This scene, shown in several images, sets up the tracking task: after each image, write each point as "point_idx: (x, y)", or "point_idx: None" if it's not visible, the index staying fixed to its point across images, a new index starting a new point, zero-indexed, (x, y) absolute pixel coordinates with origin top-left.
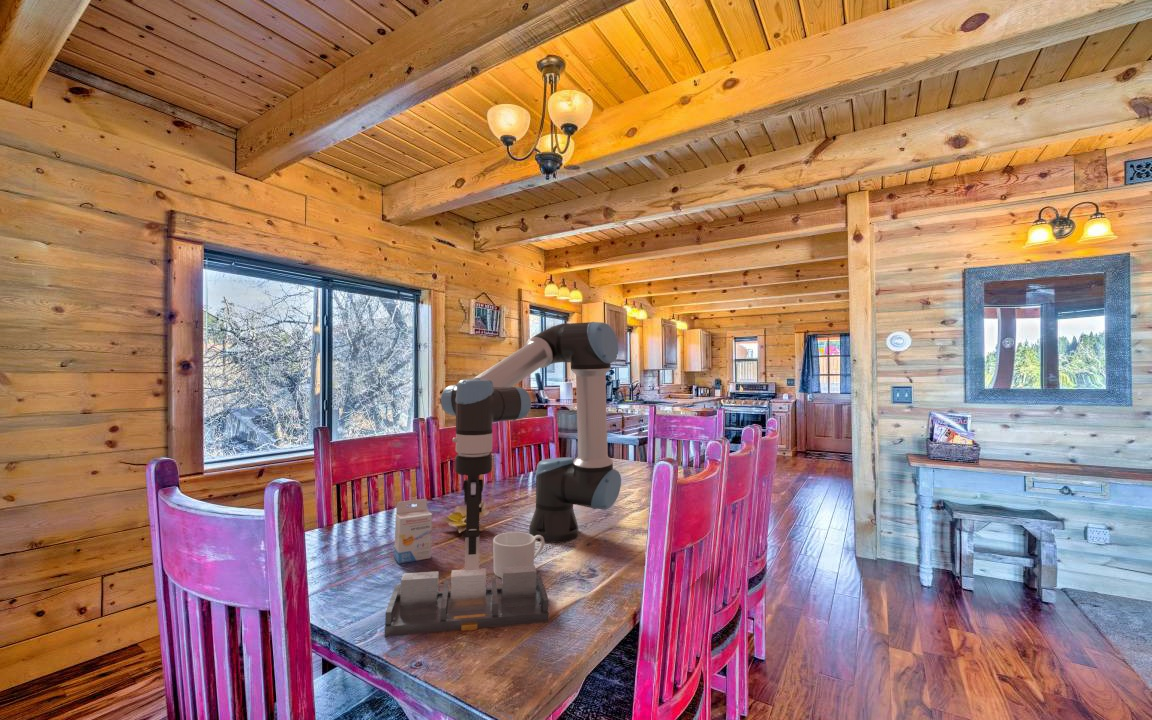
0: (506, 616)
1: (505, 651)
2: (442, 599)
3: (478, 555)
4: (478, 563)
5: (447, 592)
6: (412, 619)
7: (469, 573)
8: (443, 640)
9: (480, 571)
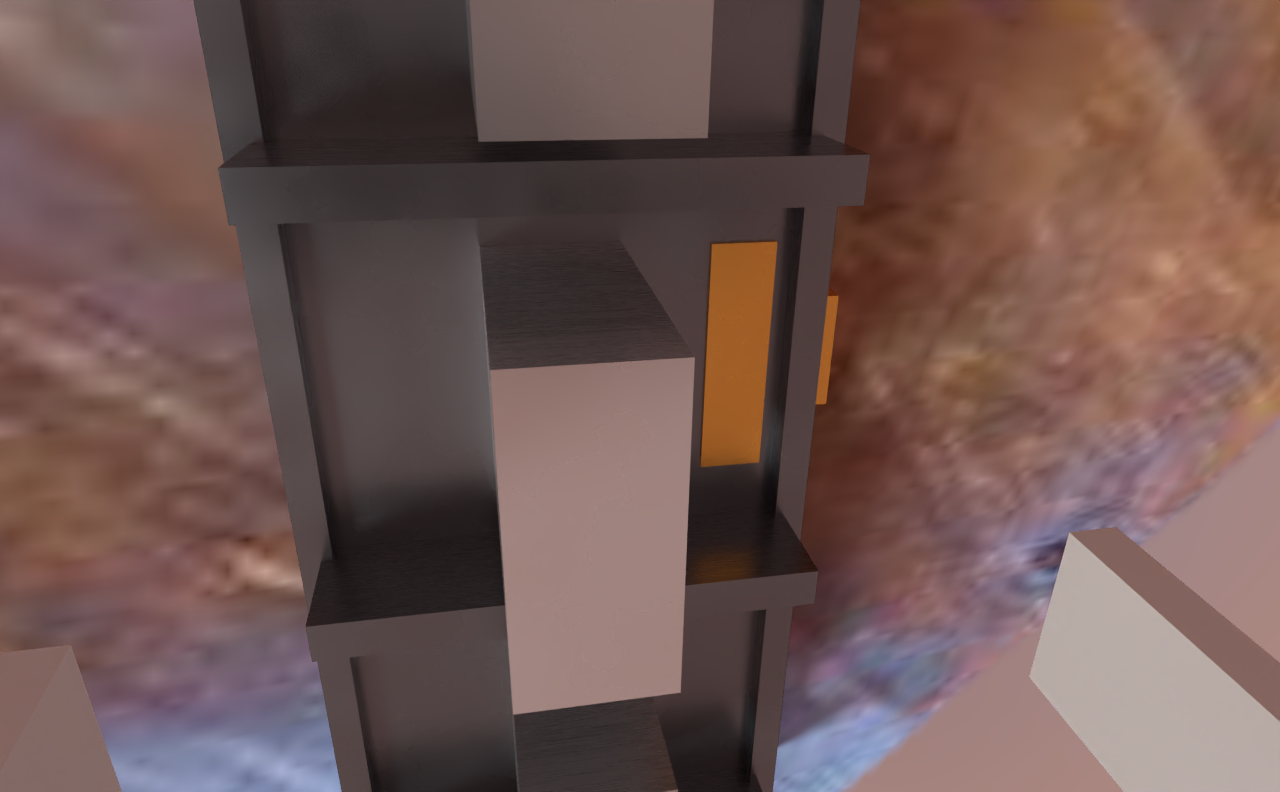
0: (853, 57)
1: (1138, 81)
2: None
3: (1269, 668)
4: (1171, 583)
5: None
6: (677, 693)
7: (626, 540)
8: (880, 476)
9: (587, 428)
